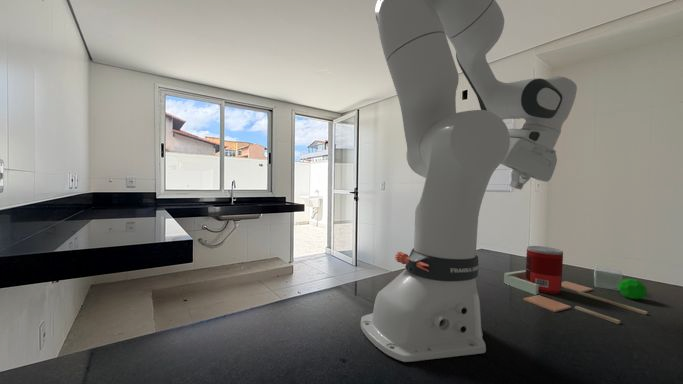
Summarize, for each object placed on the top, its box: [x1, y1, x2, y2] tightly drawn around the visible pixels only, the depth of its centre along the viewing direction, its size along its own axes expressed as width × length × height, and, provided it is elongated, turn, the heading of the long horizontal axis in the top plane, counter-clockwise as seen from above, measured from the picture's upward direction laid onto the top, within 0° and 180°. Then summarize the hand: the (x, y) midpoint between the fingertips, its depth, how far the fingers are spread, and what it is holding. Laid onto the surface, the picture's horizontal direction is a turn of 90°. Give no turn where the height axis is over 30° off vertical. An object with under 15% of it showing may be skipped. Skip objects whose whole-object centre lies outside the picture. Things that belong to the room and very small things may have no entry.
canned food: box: [525, 245, 564, 295], centre depth 76 cm, size 8×8×11 cm
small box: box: [593, 266, 623, 292], centre depth 80 cm, size 6×6×5 cm
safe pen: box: [503, 269, 539, 296], centre depth 78 cm, size 13×9×3 cm
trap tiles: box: [522, 280, 594, 313], centre depth 72 cm, size 26×11×1 cm, turn 114°
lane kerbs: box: [574, 292, 648, 325], centre depth 65 cm, size 13×12×1 cm
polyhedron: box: [618, 278, 648, 300], centre depth 72 cm, size 5×5×5 cm
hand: (515, 187), depth 78 cm, fingers closed
